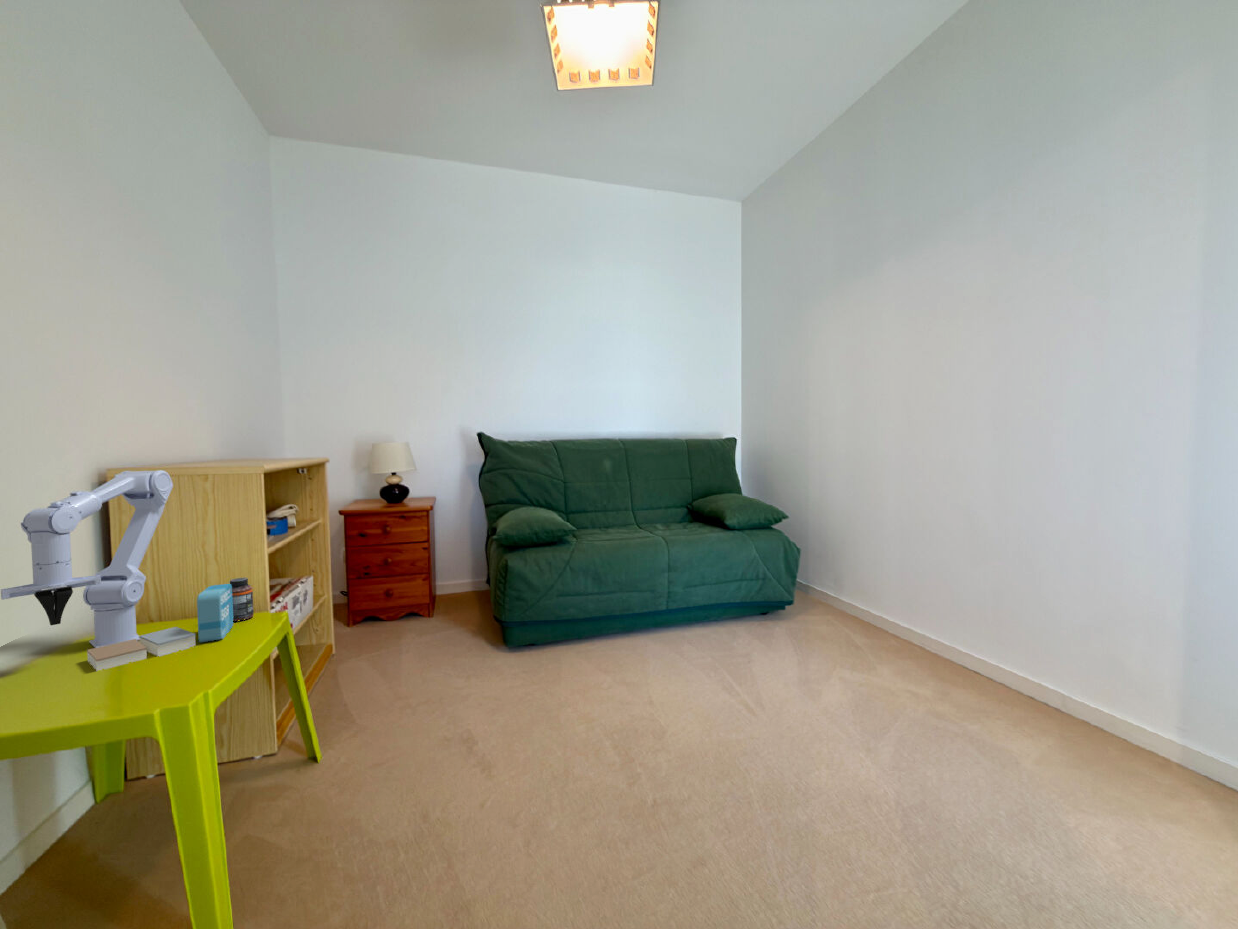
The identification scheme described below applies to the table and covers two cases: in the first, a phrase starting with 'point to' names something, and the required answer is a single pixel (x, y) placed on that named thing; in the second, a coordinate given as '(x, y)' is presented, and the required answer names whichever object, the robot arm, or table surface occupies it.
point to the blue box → (215, 612)
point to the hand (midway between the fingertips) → (55, 623)
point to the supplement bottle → (242, 599)
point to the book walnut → (116, 654)
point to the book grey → (168, 641)
